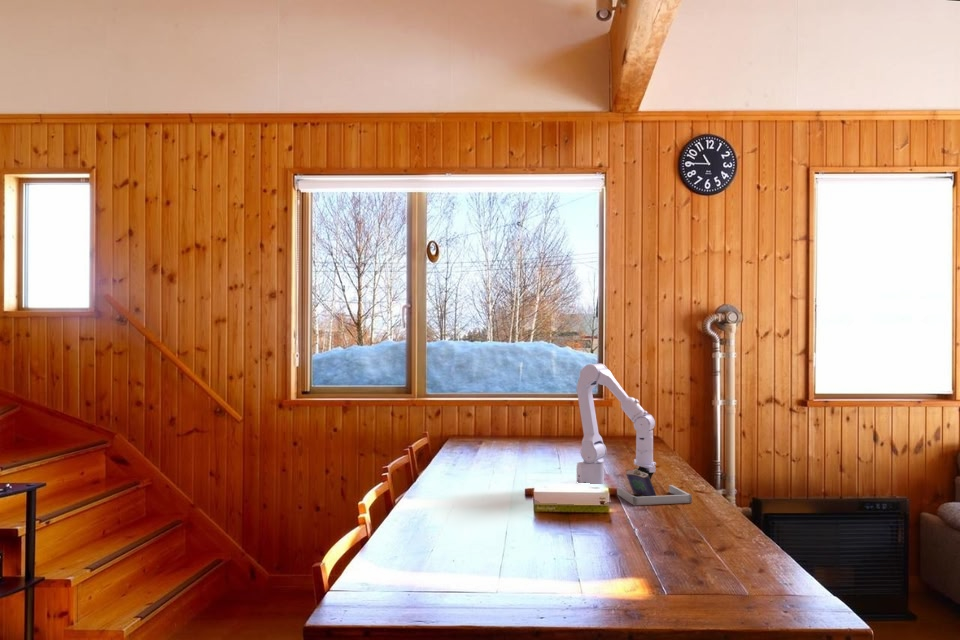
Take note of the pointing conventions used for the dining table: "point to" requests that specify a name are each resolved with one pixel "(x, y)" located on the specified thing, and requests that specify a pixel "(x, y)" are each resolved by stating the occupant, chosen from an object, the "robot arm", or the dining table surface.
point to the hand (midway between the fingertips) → (644, 489)
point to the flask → (640, 483)
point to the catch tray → (657, 497)
